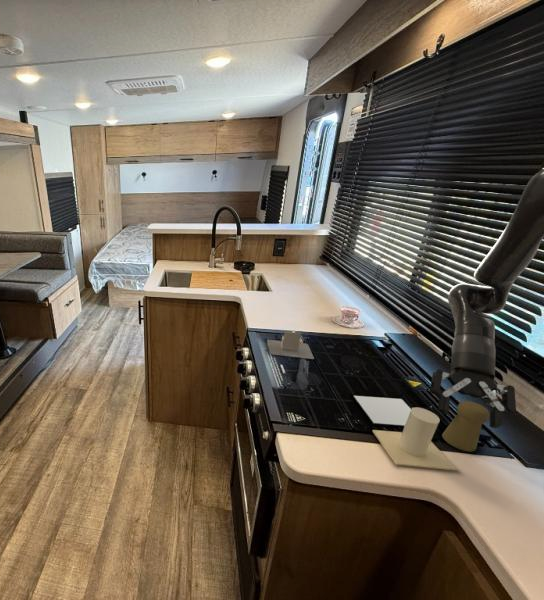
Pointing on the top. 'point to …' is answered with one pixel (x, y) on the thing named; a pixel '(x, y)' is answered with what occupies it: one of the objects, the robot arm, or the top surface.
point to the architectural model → (290, 346)
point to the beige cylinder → (418, 431)
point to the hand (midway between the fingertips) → (469, 420)
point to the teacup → (349, 317)
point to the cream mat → (401, 457)
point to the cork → (466, 426)
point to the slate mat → (384, 410)
